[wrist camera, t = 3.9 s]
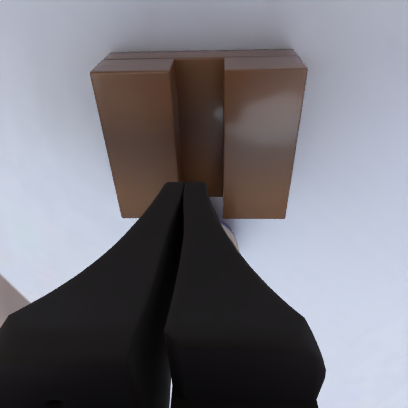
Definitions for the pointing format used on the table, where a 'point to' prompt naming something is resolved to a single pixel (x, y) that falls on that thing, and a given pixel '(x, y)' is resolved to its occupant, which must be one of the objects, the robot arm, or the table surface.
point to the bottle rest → (202, 125)
